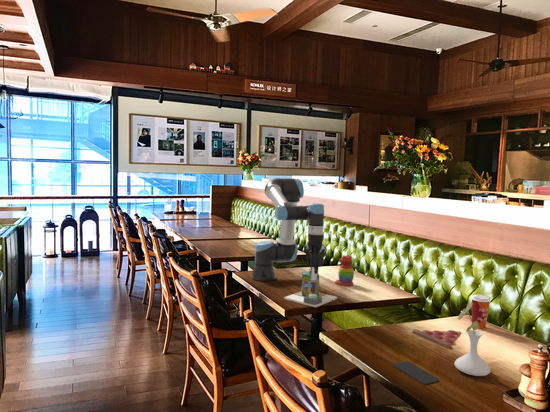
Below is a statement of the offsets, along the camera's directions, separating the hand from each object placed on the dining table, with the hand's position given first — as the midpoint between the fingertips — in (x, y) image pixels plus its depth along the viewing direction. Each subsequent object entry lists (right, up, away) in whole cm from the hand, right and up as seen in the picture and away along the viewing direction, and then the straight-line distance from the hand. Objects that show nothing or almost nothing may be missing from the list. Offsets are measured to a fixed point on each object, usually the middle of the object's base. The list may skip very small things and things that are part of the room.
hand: (313, 279), depth 214 cm
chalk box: (-1, -11, +15) cm, 19 cm away
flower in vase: (+48, -20, -69) cm, 87 cm away
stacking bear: (+23, -11, +43) cm, 51 cm away
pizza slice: (+52, -18, -37) cm, 67 cm away
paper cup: (+73, -17, -24) cm, 79 cm away
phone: (+28, -20, -72) cm, 79 cm away
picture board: (-1, -12, +10) cm, 16 cm away
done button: (0, -11, +1) cm, 11 cm away
